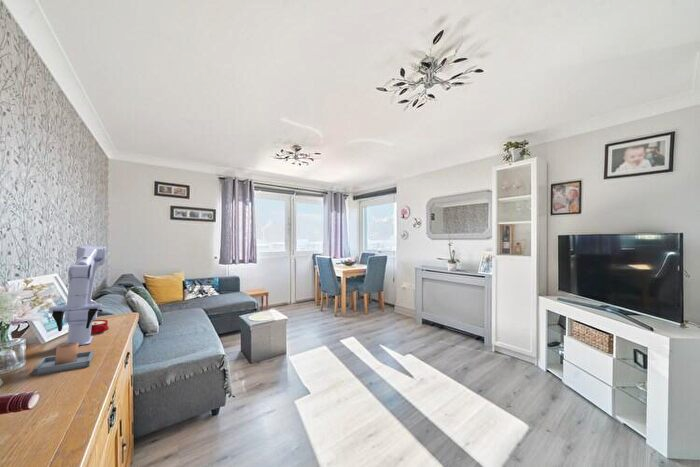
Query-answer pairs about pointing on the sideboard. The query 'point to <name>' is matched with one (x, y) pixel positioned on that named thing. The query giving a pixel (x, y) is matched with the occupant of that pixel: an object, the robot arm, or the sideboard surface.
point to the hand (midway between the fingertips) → (74, 329)
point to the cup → (66, 353)
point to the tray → (49, 364)
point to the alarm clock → (99, 326)
